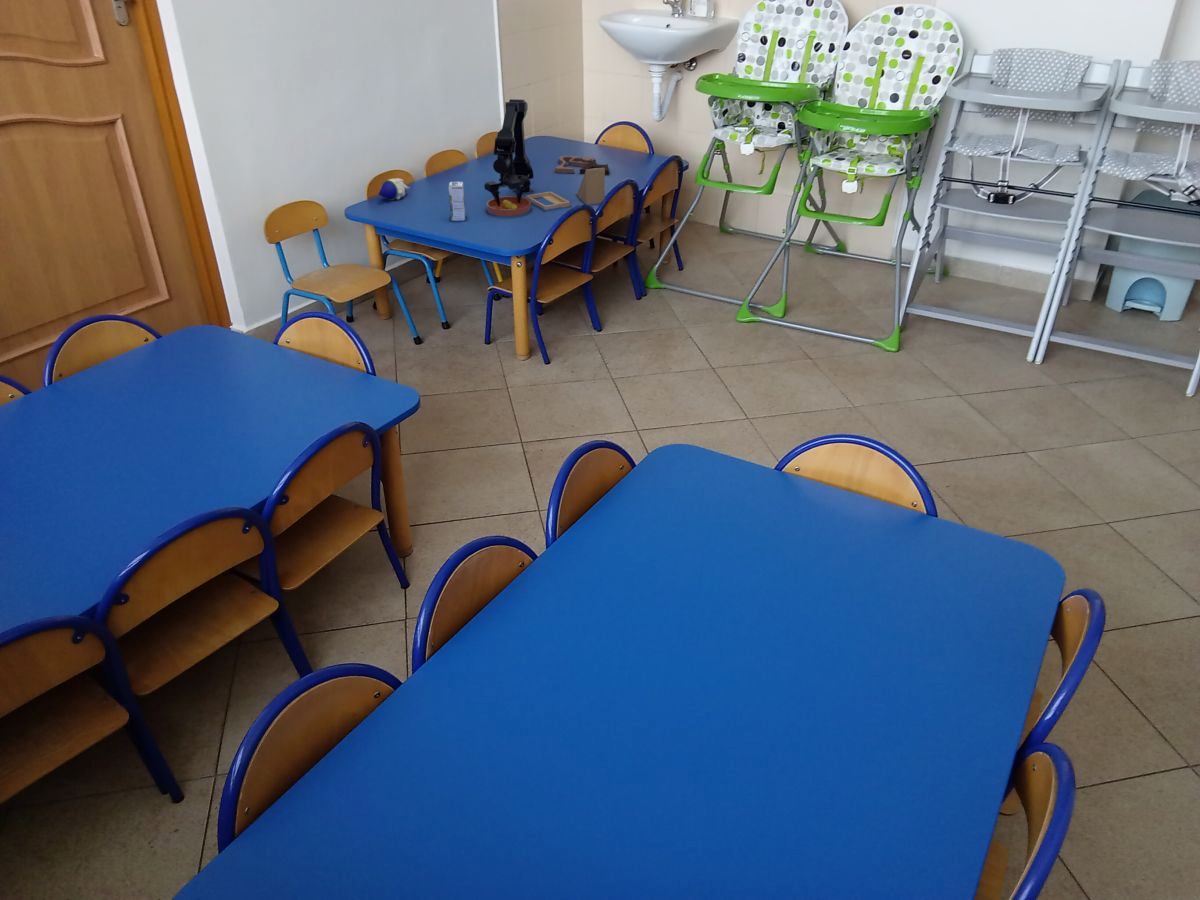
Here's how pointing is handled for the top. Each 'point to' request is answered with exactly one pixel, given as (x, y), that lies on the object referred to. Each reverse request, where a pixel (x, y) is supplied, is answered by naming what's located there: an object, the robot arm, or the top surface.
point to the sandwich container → (592, 186)
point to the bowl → (502, 211)
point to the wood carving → (578, 164)
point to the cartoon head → (393, 189)
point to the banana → (509, 205)
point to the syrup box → (457, 201)
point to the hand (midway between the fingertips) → (508, 204)
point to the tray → (551, 197)
